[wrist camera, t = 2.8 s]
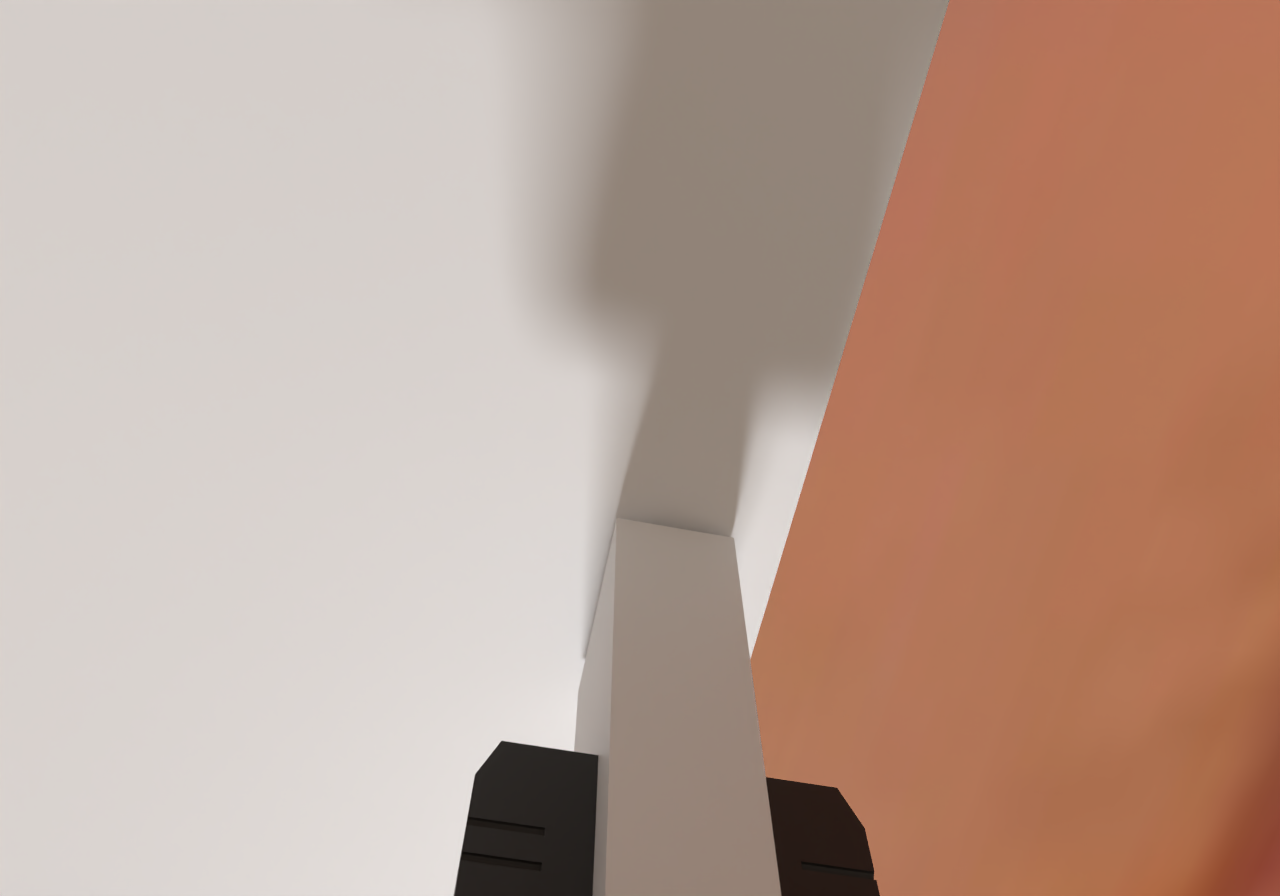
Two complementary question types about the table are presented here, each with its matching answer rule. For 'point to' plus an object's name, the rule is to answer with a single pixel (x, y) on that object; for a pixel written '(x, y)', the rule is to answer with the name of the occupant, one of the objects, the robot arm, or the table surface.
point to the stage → (389, 391)
